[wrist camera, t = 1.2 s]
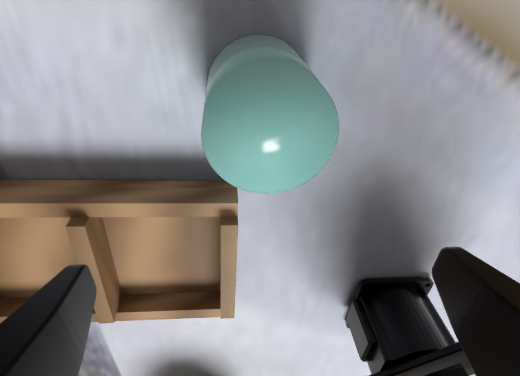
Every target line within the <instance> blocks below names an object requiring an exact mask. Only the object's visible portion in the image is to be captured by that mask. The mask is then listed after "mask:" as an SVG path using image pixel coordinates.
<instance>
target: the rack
mask: <svg viewBox="0 0 520 376" xmlns="http://www.w3.org/2000/svg"><path fill="white" fill-rule="evenodd" d="M237 237H238V195H237V187H235V186H233V185H231V184H229V183H228V182H226V181H189V180H55V179H0V323H1V322H2V321H4V320H5V319H6V318H7V317H8V316H9V315H10V314H12V313H13V312H14V311H15V310H16V309H17V308H19V307H20V306H21V305H22V304H23V303H24V302H26V301H27V300H28V299H29V298H30V297H31V296H33V295H34V294H35V293H36V292H37V291H38V290H39V289H41V288H42V287H43V286H44V285H45V284H46V283H48V282H49V281H50V280H51V279H52V278H53V277H55V276H56V275H57V274H58V273H59V272H60V271H61V270H63V269H64V268H65V267H67V266H68V265H78V264H85V265H87V266H88V267H89V269H90V272H91V274H92V277H93V279H94V282H95V285H96V289H97V293H96V299H95V304H94V309H93V314H92V318H91V322H99V323H114V321H130V320H155V319H181V318H206V317H221V318H234V310H235V286H236V261H237Z"/></svg>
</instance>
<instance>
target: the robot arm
mask: <svg viewBox="0 0 520 376" xmlns="http://www.w3.org/2000/svg"><path fill="white" fill-rule="evenodd" d="M432 276H433V279H434V282H435V285H436V287H437V290H438V292H439V295H440V298H441V300H442V303H443V305H444V308H445V310H446V313H447V316H448V318H449V321H450V323H451V326H452V328H453V330H454V333H455V335H456V337H457V339H458V341H459V342H455V341H454V339H453V337H452V336H451V334H450V332H449V331H448V329H447V327H446V326H445V324H444V322H443V321H442V319H441V317H440V316H439V314H438V312H437V311H436V309H435V307H434V306H433V304H432V302H431V301H430V299H429V298H428V296H427V295H428V293H429V291H430V290H431V288H432V286H433V282H432V280H431V279H430V278H395V279H365V280H362V281H361V282H360V283H359V286H358V289H357V292H356V294H355V297H354V300H353V301H352V303H351V306H350V309H349V311H348V314H347V317H346V318H347V319H346V326H347V328H350V330H351V333H352V336H353V339H354V342H355V345H356V348H357V350H358V353H359V356H360V359H361V360H362V361H363V362H367V363H368V365H369V368H370V371H371V374H372V375H369V376H470V375H473V374H475V375H476V376H520V283H518V282H517V281H515V280H513V279H512V278H510V277H508V276H507V275H505V274H503V273H502V272H500V271H498V270H497V269H495V268H494V267H492V266H490V265H489V264H487V263H485V262H484V261H482V260H480V259H479V258H477V257H475V256H474V255H472V254H471V253H469V252H467V251H466V250H464V249H462V248H460V247H445V248H443V249H441V251H440V253H439V255H438V257H437V259H436V261H435V263H434V265H433V268H432ZM96 293H97V289H96V285H95V282H94V279H93V277H92V274H91V272H90V269H89V267H88V266H87V265H85V264H78V265H68V266H67V267H65V268H64V269H63V270H61V271H60V272H59V273H58V274H57V275H56V276H55V277H53V278H52V279H51V280H50V281H49V282H48V283H46V284H45V285H44V286H43V287H42V288H41V289H39V290H38V291H37V292H36V293H35V294H34V295H33V296H31V297H30V298H29V299H28V300H27V301H26V302H24V303H23V304H22V305H21V306H20V307H19V308H17V309H16V310H15V311H14V312H13V313H12V314H10V315H9V316H8V317H7V318H6V319H5V320H4V321H2V322H1V323H0V376H78V373H79V369H80V366H81V363H82V360H83V356H84V351H85V347H86V342H87V338H88V333H89V328H90V323H91V318H92V314H93V309H94V304H95V299H96Z"/></svg>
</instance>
